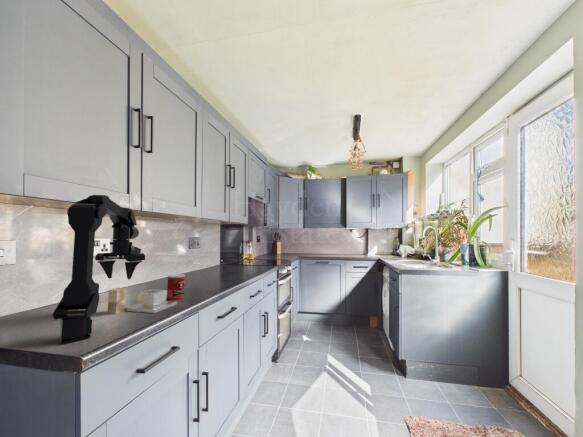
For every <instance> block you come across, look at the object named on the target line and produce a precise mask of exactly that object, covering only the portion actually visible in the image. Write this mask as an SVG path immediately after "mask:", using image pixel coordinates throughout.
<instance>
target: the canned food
mask: <svg viewBox="0 0 583 437" xmlns="http://www.w3.org/2000/svg"><path fill="white" fill-rule="evenodd" d="M185 285H186V274H182V273H176V274H175V273H174V274H169V275H167V285H166V286H167V289H166V290H167V296H166V299H167V300H168V301H178V300H182V299H184V298H185Z"/></svg>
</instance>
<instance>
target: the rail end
mask: <svg viewBox="0 0 583 437" xmlns="http://www.w3.org/2000/svg"><path fill="white" fill-rule="evenodd" d="M126 293H127V288H125V287H115V288H110V289H108V296H107V298H108V299H107V301H108V302H107V314H112V315H116V314H120V313H123V312H124V313H125V312H126V311H125V307H126V299H127V298H126V297H127V296H126V295H127V294H126Z"/></svg>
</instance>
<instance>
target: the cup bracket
mask: <svg viewBox="0 0 583 437" xmlns="http://www.w3.org/2000/svg"><path fill="white" fill-rule="evenodd" d="M176 305H178V300H167V289H152V288H151V289H149V290H145V291H141V292H137V303H135V304H132V305H129V306H125V311H124V312H131V313H132V312H133V313H134V312H135V313H149V314H150V313H151V314H156V313H158V312H161V311H163V310H166V309H168V308H171V307H173V306H176Z"/></svg>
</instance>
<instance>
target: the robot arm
mask: <svg viewBox="0 0 583 437" xmlns="http://www.w3.org/2000/svg"><path fill="white" fill-rule="evenodd" d="M66 211H67V212H66V214H67V219H68V221H67V222H68V224H69V226H70V227H71V229H72V230H73V232H74V239H73V250H72V252H73V253H72V255H73V256H72V268H71V269H72V270H71V281H70V282H69V283H68V285H67V286H66V287H65V288H64V290H63V293H62V297H61V299H60V301H58V304H57V305H56V307H55V309H54V311H53V313H52V316H53V320H55V321H56V320H60V329H59V336H58V337H57V339H58V341H59V343H60V344H62V345H63V344H64V345H65V344H68V343H72V342H77V341H80V340H85V339H90V338H91V334H92V329H93V319H92V318H91V317H92V316H94V315H96V314H97V310H98V308H99V302H100V291H99V290H100V284H99V283H98V282H95V281H94V279H93V273H94V272H93V269H94V258H95V261H97V263H98V264H99V265H100V267H101V268H102V270H103V271H104V273H105V275H106V276H107V278H108V279H109V280H110V279H112V277H113V269H114V264H115V263H116V261H117V260H125V262H124V267H125V274H126V279H127V280H131V279H132V276H133V274H134V272H135V270H136V268H137V266H138V265H139V264H140V263H143V261H145V260H146V255H145V253H143V252H141V251H142V249H141V248H140V247H137V246H134V245H133V241H130V240H135V239H136V238H138V236H139V234H140V231H139V229H138V227H137V225H138V224H137V220H136V215H135V212H134V211H133V209H132V208H129V207H123V206H121V205H119V204H117V203H116V202H115V201H114V200H112V199H110V196H108V195H105V194H92V195H89V196H88V197H86V198H83V199H80V200H77V201H75V202H74V203H72V205H71V206H69V207H68V209H67V210H66ZM106 215H108V216H109V220H110V221H111V223H112V226H111V228H112V241H110V242H109V245H111V246H112V247H111V248H112V249H111V251H110V252H100V253H97V254H96V255H95V254H94V252H95V236H96V232H97V231H98V230H99V228H100V226H102V223H103V218H104V217H105V216H106ZM94 255H95V257H94ZM68 310H78V311H68Z"/></svg>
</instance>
